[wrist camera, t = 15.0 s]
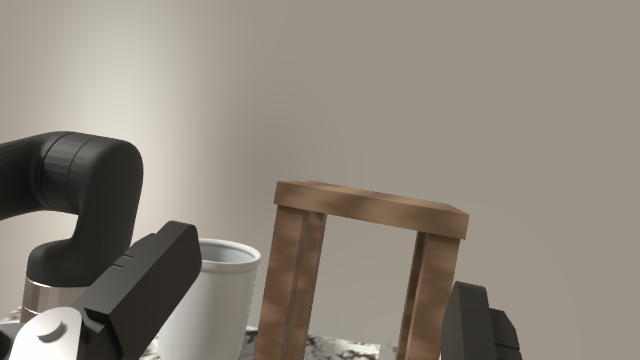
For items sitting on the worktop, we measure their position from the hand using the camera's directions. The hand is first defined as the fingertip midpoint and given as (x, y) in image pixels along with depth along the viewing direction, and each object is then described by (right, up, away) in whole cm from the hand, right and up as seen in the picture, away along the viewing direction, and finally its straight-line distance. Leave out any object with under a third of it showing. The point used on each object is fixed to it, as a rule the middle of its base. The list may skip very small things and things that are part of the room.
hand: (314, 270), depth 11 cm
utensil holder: (-20, -26, +52) cm, 61 cm away
